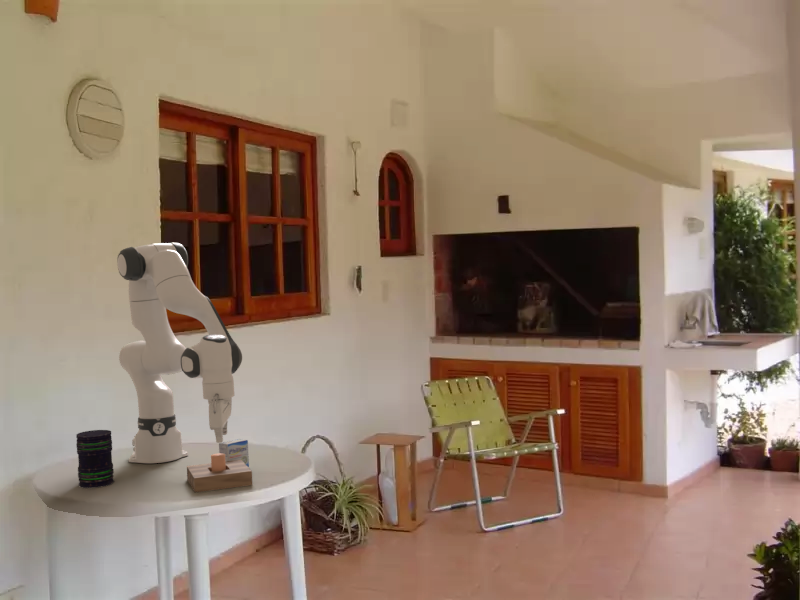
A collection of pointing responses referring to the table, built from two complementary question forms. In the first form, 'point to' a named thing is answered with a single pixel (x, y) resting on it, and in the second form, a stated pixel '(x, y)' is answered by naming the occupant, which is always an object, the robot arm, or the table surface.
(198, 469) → the socket block
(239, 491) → the table surface
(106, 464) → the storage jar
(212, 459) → the peg
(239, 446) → the medicine box
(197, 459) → the table surface
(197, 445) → the table surface
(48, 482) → the table surface
